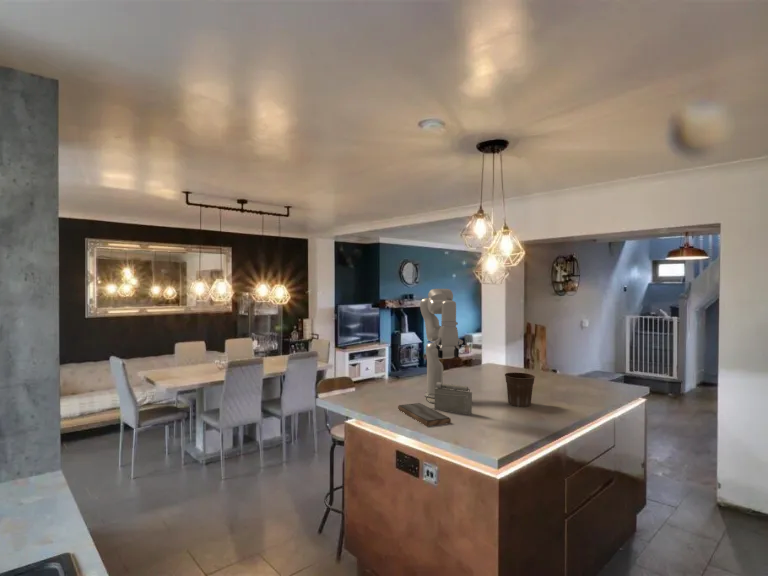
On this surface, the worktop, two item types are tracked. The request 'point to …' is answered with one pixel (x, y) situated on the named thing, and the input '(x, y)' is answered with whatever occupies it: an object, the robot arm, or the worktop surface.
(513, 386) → the plant pot
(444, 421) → the brown wooden board
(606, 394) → the worktop surface
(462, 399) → the geiger counter
